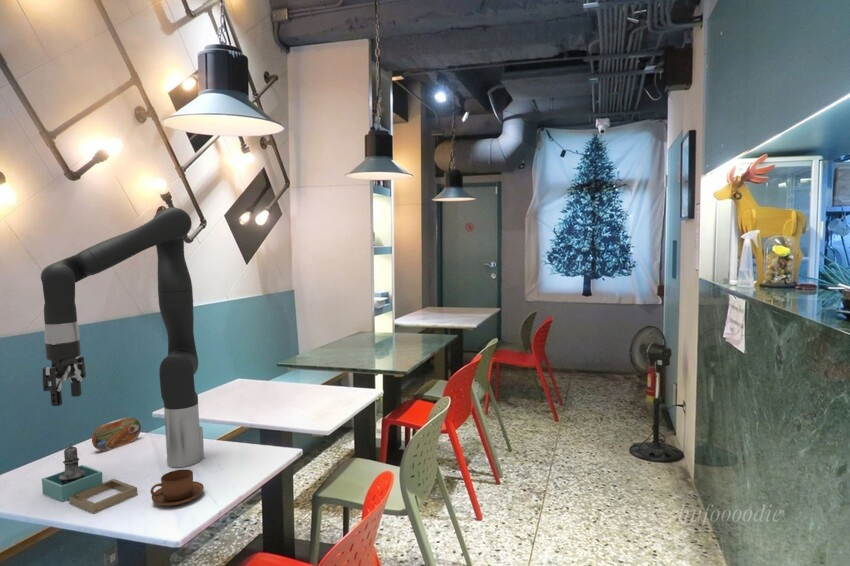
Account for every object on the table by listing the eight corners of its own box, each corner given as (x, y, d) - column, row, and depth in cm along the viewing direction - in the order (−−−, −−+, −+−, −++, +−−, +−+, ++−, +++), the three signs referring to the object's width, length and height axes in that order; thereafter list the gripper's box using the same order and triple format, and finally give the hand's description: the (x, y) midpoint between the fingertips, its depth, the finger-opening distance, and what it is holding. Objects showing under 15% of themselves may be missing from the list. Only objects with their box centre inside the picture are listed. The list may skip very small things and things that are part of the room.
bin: (83, 478, 147) (82, 464, 147) (103, 486, 142) (102, 471, 142) (42, 493, 139) (41, 478, 138) (62, 502, 134) (61, 486, 133)
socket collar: (113, 486, 142) (113, 478, 142) (137, 494, 137) (137, 487, 137) (69, 503, 133) (69, 495, 133) (93, 513, 127) (92, 505, 127)
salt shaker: (84, 489, 139) (81, 445, 138) (57, 494, 137) (54, 449, 136) (88, 481, 144) (85, 438, 144) (62, 485, 142) (59, 441, 141)
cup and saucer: (170, 515, 126) (168, 490, 126) (142, 503, 133) (140, 479, 132) (213, 494, 136) (212, 471, 136) (185, 484, 143) (184, 462, 142)
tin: (96, 455, 165) (95, 428, 164) (90, 453, 166) (89, 427, 166) (142, 439, 178) (140, 414, 178) (136, 437, 180) (134, 413, 179)
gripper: (64, 336, 145) (68, 394, 146) (29, 345, 131) (34, 409, 132) (92, 334, 145) (96, 392, 146) (60, 344, 131) (65, 408, 132)
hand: (67, 400), depth 139 cm, fingers open, 8 cm apart
